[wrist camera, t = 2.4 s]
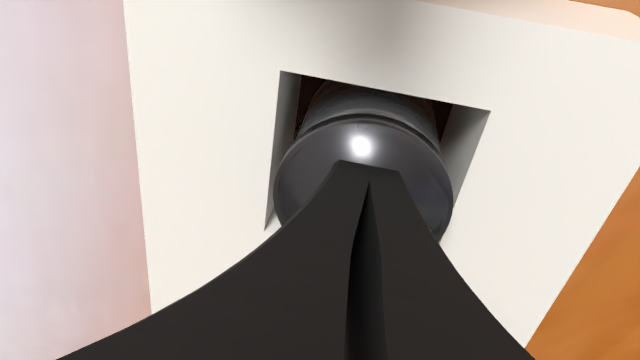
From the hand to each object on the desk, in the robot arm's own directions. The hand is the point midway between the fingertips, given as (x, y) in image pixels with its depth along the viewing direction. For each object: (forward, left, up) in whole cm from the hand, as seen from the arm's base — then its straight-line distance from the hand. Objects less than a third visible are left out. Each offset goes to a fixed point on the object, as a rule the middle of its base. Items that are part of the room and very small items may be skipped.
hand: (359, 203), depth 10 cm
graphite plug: (0, 0, -4) cm, 4 cm away
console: (0, +4, -4) cm, 6 cm away
